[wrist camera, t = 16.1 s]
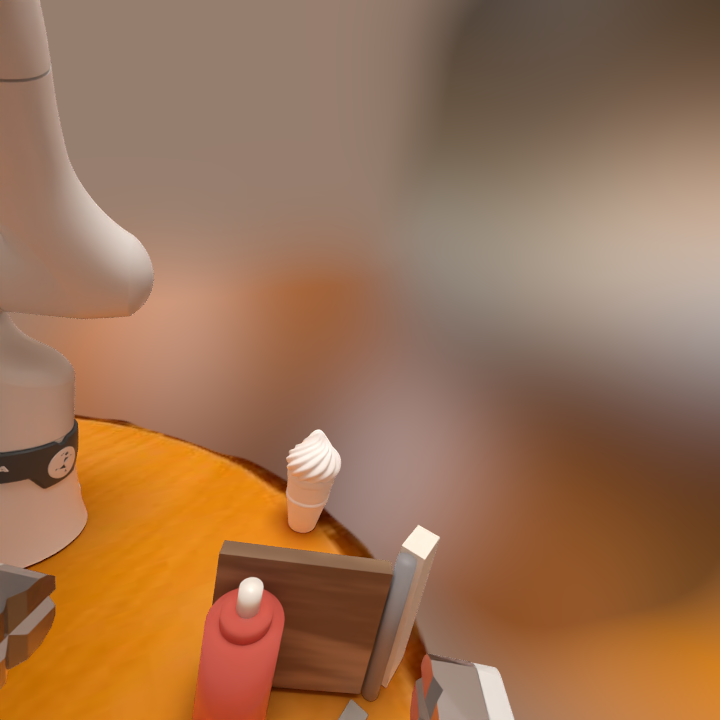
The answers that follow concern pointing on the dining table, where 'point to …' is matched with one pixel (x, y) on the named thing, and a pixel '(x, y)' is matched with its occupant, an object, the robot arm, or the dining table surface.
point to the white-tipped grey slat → (396, 616)
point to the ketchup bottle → (239, 654)
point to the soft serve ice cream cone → (310, 480)
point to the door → (315, 610)
